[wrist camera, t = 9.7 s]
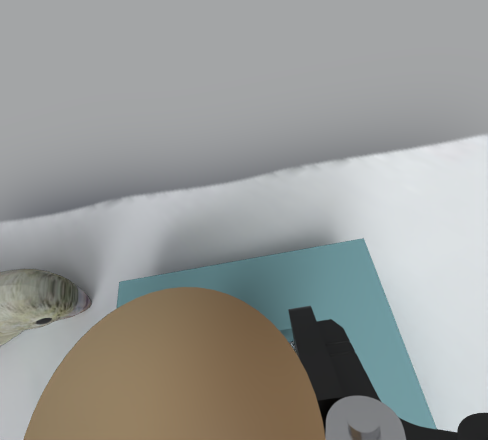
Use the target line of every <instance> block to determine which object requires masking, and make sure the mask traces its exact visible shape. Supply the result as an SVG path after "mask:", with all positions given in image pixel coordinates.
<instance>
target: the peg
mask: <svg viewBox="0 0 488 440" xmlns="http://www.w3.org/2000/svg"><path fill="white" fill-rule="evenodd" d="M24 440H326V439H325V433H324V427H323V420H322V416H321V413H320V409H319V406H318V402H317V398H316V395H315V392H314V390H313V387H312V385H311V382H310V380H309V377H308V375H307V372H306V370H305V369H304V367H303V365H302V363H301V361H300V359H299V357H298V356H297V354H296V352H295V351H294V349H293V348H292V346H291V345H290V344H289V342H288V341H287V339H286V338H285V337H284V335H283V334H282V333H281V332H280V331H279V330H278V329H277V328H276V327H275V325H274V324H273V323H272V322H271V321H270V320H268V319H267V318H266V317H265V316H264V315H262V314H261V313H260V312H259V311H258V310H256V309H255V308H253V307H252V306H250V305H248V304H247V303H245V302H244V301H242V300H240V299H237V298H235V297H233V296H231V295H229V294H226V293H222V292H219V291H216V290H212V289H205V288H199V287H178V288H169V289H164V290H160V291H156V292H151V293H149V294H146V295H143V296H141V297H138V298H136V299H134V300H132V301H130V302H128V303H126V304H124V305H122V306H120V307H119V308H117V309H116V310H114V311H113V312H111V313H110V314H108V315H107V316H105V317H104V318H103V319H102V320H100V321H99V322H98V323H97V324H96V325H94V326H93V327H92V328H91V329H90V330H89V331H88V332H87V333H86V334H85V335H84V336H83V337H82V338H81V339H80V340H79V341H78V342H77V343H76V344H75V346H74V347H73V348H72V349H71V350H70V352H69V353H68V354H67V355H66V356H65V358H64V359H63V361H62V362H61V364H60V365H59V366H58V368H57V369H56V371H55V372H54V374H53V375H52V377H51V379H50V381H49V382H48V384H47V386H46V388H45V389H44V391H43V393H42V395H41V397H40V399H39V401H38V404H37V406H36V408H35V410H34V412H33V414H32V417H31V420H30V423H29V425H28V428H27V431H26V434H25V436H24Z"/></svg>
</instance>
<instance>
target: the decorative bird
mask: <svg viewBox="0 0 488 440" xmlns="http://www.w3.org/2000/svg"><path fill="white" fill-rule="evenodd" d="M91 304H92V303H91V301H90V299H89V297H88V296H87V295H86V293H85V292H84V291H83V290H82V289H81V288H79V287H78V286H76V285H75V284H74V283H72V282H71V281H70V280H68V279H66V278H64V277H62V276H60V275H57V274H54V273H51V272H47V271H42V270H36V269H19V270H10V271H4V272H0V346H1V345H3V344H5V343H7V342H8V341H10V340H11V339H12V338H13V337H15V336H17V335H19V334H20V333H21V332H22V331H24V330H27V329H33V328H38V327H42V326H45V325H48V324H50V323H52V322H54V321H57V320H61V319H65V318H68V317H72V316H75V315H77V314H79V313H81V312H83V311H85V310H86V309H88V308H89V307H90V306H91Z"/></svg>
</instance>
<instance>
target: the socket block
mask: <svg viewBox="0 0 488 440" xmlns="http://www.w3.org/2000/svg"><path fill="white" fill-rule="evenodd" d="M178 287H199V288H205V289H212V290H216V291H219V292H222V293H226V294H229V295H231V296H233V297H235V298H237V299H240V300H242V301H244V302H245V303H247V304H248V305H250V306H252V307H253V308H255V309H256V310H258V311H259V312H260V313H261V314H262V315H264V316H265V317H266V318H267V319H268V320H270V321H271V322H272V323H273V324H274V325H275V327H276V328H277V329H278V330H279V331H280V332H281V333H282V334H283V335H284V337H285V338H286V339H287V341H288V342H292V341H294V339H293V333H292V328H291V322H290V317H289V311H288V309H293V308H299V307H305V306H311V307H312V310H313V313H314V315H315V318H316V321H322V320H329V319H332V320H333V321H335V322H336V323H337V324H339V325H340V326H341V327H343V328H344V330H345V332H346V334H347V336H348V338H349V340H350V343H351V344H352V346H353V348H354V350H355V353H356V354H357V356H358V358H359V360H360V362H361V364H362V366H363V368H364V369H365V371H366V373H367V375H368V377H369V379H370V381H371V383H372V385H373V387H374V389H375V391H376V393H377V395H378V397H379V398H380V400H381V402H382V403H384V404H386V405H387V406H388V407H389V408H391V409H392V410H393V411H394V412H395V413H396V415H397V416H398V417H399V418H401V419H403V420H405V421H407V422H409V423H412V424H415V425H418V426H421V427H426V428H432V429H437V428H436V426H435V423H434V420H433V418H432V415H431V413H430V410H429V407H428V405H427V402H426V400H425V397H424V394H423V392H422V389H421V387H420V384H419V381H418V379H417V376H416V374H415V371H414V368H413V366H412V363H411V361H410V358H409V355H408V353H407V350H406V348H405V345H404V342H403V340H402V337H401V335H400V332H399V329H398V327H397V324H396V321H395V319H394V316H393V314H392V311H391V308H390V306H389V303H388V301H387V298H386V295H385V293H384V290H383V288H382V285H381V282H380V280H379V277H378V275H377V272H376V269H375V267H374V264H373V262H372V259H371V256H370V254H369V251H368V249H367V246H366V243H365V241H364V238H363V239H357V240H352V241H346V242H341V243H335V244H329V245H324V246H318V247H312V248H307V249H301V250H296V251H290V252H284V253H279V254H273V255H268V256H262V257H256V258H251V259H245V260H240V261H234V262H228V263H223V264H217V265H211V266H206V267H200V268H195V269H189V270H183V271H178V272H172V273H167V274H161V275H155V276H150V277H144V278H138V279H133V280H127V281H122V282H119V290H118V300H117V308H119V307H120V306H122V305H124V304H126V303H128V302H130V301H132V300H134V299H136V298H138V297H141V296H143V295H146V294H149V293H151V292H156V291H160V290H164V289H169V288H178Z"/></svg>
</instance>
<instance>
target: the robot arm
mask: <svg viewBox="0 0 488 440" xmlns="http://www.w3.org/2000/svg"><path fill="white" fill-rule="evenodd" d="M288 311H289V317H290V322H291V328H292V333H293V339H294V344H295V349H296V354H297V356H298V357H299V359H300V361H301V363H302V365H303V367H304V369H305V370H306V372H307V375H308V377H309V380H310V382H311V385H312V387H313V390H314V392H315V395H316V398H317V402H318V406H319V409H320V413H321V416H322V420H323V427H324V433H325V439H326V440H488V413H477V414H473V415H470V416H468V417H466V418H465V419H463V420H462V422H461V423H460V424H459V427H458V432H457V433H456V432H450V431H444V430H438V429H432V428H426V427H421V426H418V425H415V424H412V423H409V422H407V421H405V420H403V419H401V418H399V417H398V416H397V415H396V413H395V412H394V411H393V410H392V409H391V408H389V407H388V406H387V405H386V404H384V403H382V402H381V400H380V398H379V397H378V395H377V393H376V391H375V389H374V387H373V385H372V383H371V381H370V379H369V377H368V375H367V373H366V371H365V369H364V368H363V366H362V364H361V362H360V360H359V358H358V356H357V354H356V353H355V350H354V348H353V346H352V344H351V343H350V340H349V338H348V336H347V334H346V332H345V330H344V328H343V327H341V326H340V325H339V324H337V323H336V322H335V321H333V320H332V319H329V320H322V321H316V318H315V315H314V313H313V310H312V307H311V306H305V307H299V308H293V309H288Z"/></svg>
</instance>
